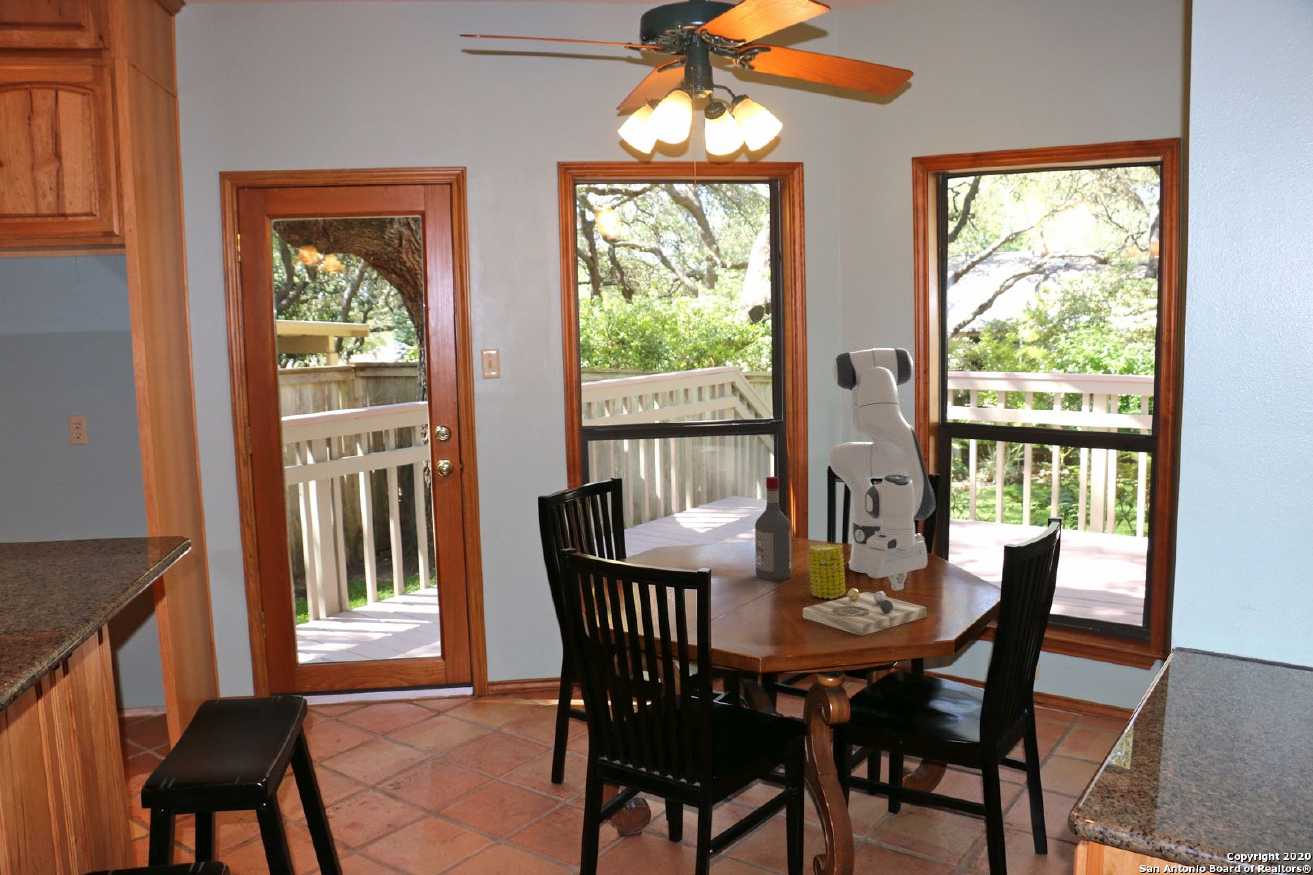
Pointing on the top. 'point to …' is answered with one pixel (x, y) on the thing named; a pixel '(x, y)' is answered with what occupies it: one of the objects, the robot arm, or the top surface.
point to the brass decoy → (853, 594)
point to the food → (827, 571)
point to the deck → (863, 614)
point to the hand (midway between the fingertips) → (897, 589)
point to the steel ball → (880, 597)
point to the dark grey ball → (886, 606)
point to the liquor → (773, 538)
